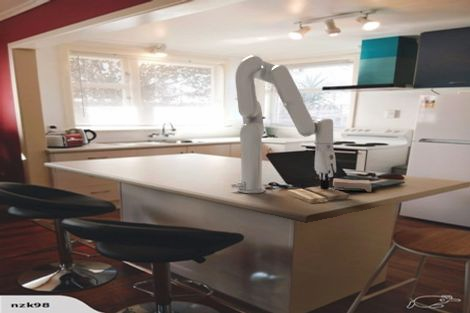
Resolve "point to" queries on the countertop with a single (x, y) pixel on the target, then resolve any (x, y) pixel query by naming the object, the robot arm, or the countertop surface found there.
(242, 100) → the robot arm
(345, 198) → the underlay mat
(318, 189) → the plank
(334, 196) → the plank
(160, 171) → the countertop surface
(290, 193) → the laid board
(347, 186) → the brick
